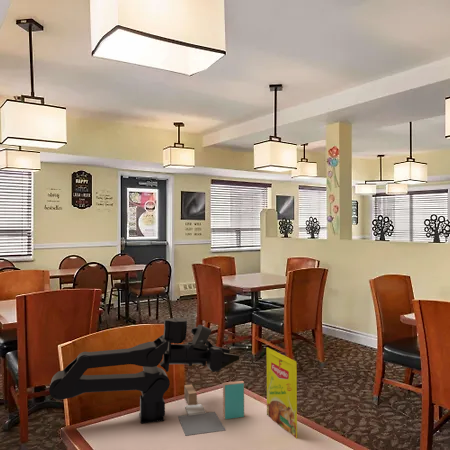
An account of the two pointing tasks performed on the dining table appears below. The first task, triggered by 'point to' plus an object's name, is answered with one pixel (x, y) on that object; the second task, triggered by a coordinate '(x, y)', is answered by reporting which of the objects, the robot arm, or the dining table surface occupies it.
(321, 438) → the dining table surface
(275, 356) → the food package
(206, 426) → the mat
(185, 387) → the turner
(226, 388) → the tile
